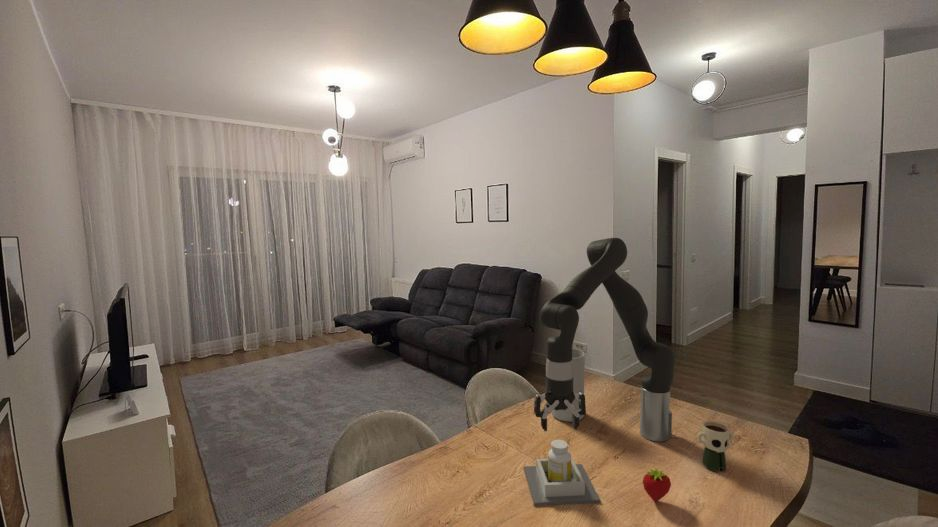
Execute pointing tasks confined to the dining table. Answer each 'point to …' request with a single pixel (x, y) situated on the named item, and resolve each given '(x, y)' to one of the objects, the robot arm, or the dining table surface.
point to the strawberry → (656, 484)
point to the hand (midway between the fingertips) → (559, 429)
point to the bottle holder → (559, 486)
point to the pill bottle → (559, 462)
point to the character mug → (715, 444)
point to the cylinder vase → (574, 385)
